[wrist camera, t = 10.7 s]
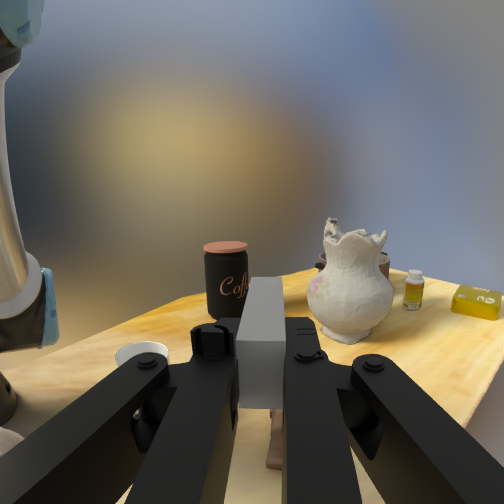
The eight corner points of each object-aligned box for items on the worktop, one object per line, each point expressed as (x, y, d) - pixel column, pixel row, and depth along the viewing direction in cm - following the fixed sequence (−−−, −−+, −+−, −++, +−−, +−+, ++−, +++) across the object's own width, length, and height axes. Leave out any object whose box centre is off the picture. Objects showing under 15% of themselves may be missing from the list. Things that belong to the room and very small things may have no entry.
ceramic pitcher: (285, 326, 74) (278, 223, 68) (343, 303, 83) (342, 212, 77) (347, 364, 56) (351, 237, 50) (405, 329, 64) (413, 222, 58)
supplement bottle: (422, 311, 74) (427, 274, 72) (403, 310, 76) (407, 273, 74) (418, 303, 80) (423, 269, 77) (400, 303, 81) (404, 268, 79)
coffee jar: (222, 326, 73) (217, 251, 69) (200, 312, 81) (195, 244, 77) (257, 314, 79) (256, 244, 75) (234, 303, 87) (231, 239, 84)
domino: (266, 463, 30) (278, 395, 38) (266, 467, 31) (278, 402, 39) (309, 467, 29) (316, 398, 37) (307, 471, 30) (314, 405, 38)
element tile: (499, 305, 71) (502, 290, 70) (496, 322, 61) (500, 305, 60) (458, 297, 82) (460, 282, 81) (449, 312, 72) (452, 296, 71)
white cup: (157, 387, 48) (147, 336, 46) (188, 406, 43) (180, 352, 41) (120, 406, 42) (105, 353, 40) (149, 430, 37) (134, 374, 35)
